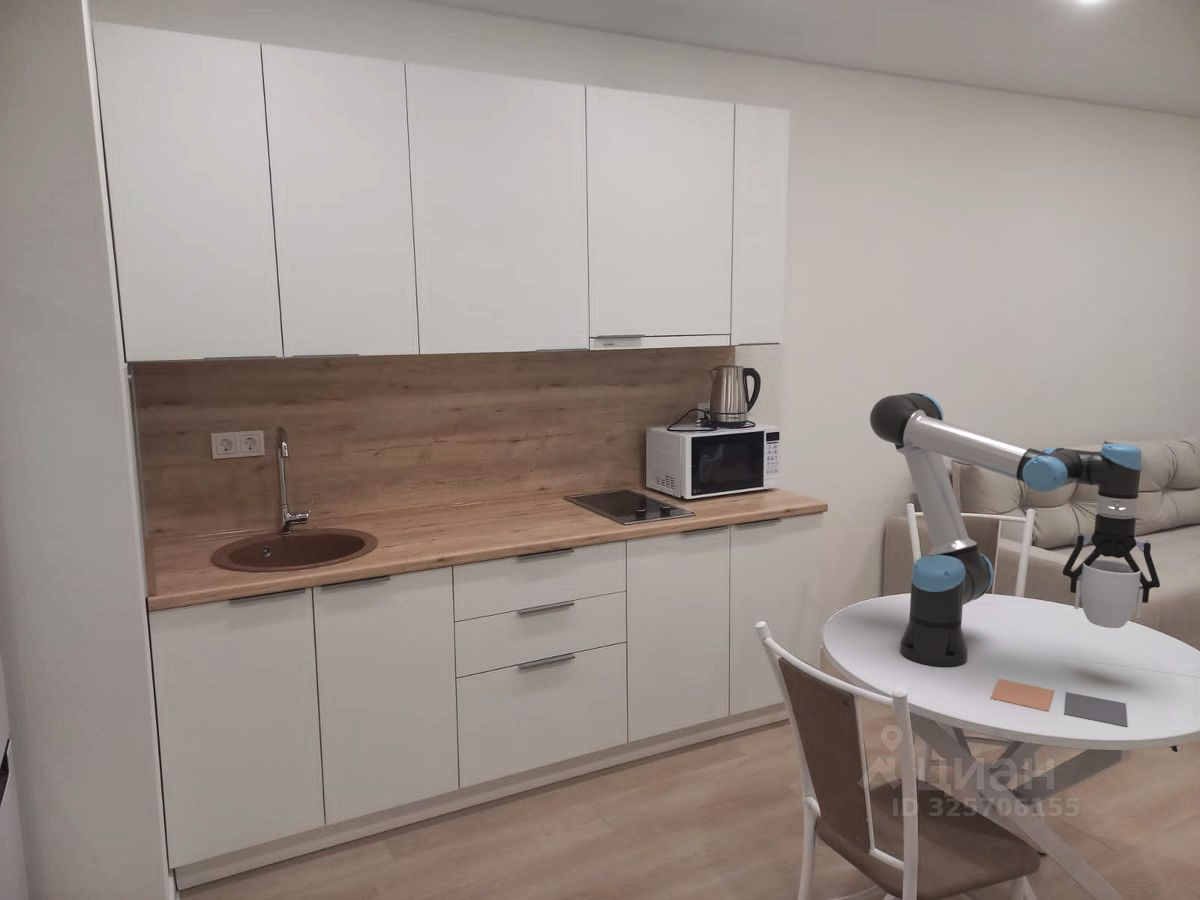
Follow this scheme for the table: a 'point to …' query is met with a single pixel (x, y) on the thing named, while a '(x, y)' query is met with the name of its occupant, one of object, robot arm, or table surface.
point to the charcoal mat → (1096, 709)
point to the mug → (1109, 592)
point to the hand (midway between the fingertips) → (1106, 611)
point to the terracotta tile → (1023, 695)
